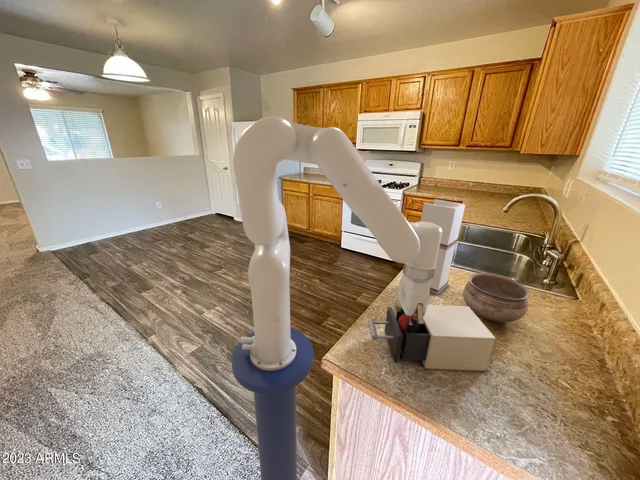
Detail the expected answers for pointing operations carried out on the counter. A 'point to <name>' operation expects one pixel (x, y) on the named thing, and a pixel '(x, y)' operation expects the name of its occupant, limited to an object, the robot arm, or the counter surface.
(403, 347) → the dark pull-out drawer
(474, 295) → the cooking pot
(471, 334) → the cream rectangular box
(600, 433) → the counter surface
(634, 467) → the counter surface
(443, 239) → the tall white column
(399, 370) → the counter surface
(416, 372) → the counter surface
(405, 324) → the onion
